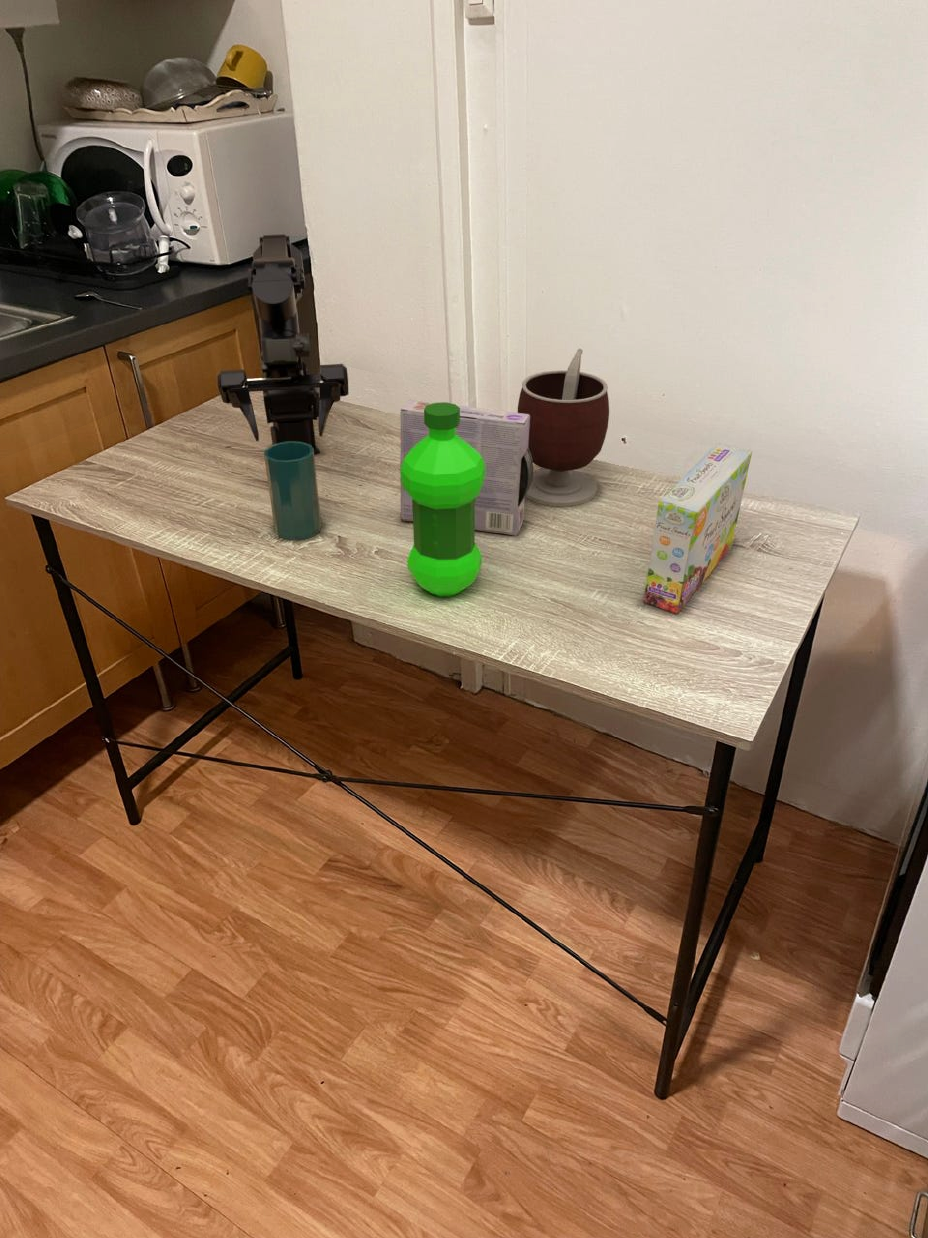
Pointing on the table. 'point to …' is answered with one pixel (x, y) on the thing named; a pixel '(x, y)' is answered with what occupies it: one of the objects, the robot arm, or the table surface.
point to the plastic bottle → (443, 504)
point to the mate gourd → (564, 432)
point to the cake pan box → (503, 456)
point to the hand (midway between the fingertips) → (289, 437)
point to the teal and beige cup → (293, 490)
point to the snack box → (695, 526)
